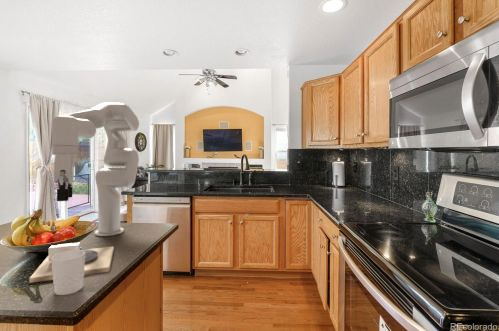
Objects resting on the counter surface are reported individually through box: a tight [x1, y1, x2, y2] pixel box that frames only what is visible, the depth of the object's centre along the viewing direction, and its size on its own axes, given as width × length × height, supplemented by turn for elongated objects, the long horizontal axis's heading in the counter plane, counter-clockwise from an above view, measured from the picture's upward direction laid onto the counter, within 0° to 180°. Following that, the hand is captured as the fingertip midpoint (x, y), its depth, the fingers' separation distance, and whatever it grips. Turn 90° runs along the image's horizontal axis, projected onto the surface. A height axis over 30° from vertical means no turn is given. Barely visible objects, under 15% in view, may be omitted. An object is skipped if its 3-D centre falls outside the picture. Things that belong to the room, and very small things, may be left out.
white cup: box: [51, 249, 85, 296], centre depth 75 cm, size 8×8×10 cm
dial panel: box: [28, 246, 115, 284], centre depth 92 cm, size 21×21×4 cm
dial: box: [47, 241, 98, 263], centre depth 92 cm, size 14×12×5 cm
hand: (65, 199), depth 94 cm, fingers open, 9 cm apart
